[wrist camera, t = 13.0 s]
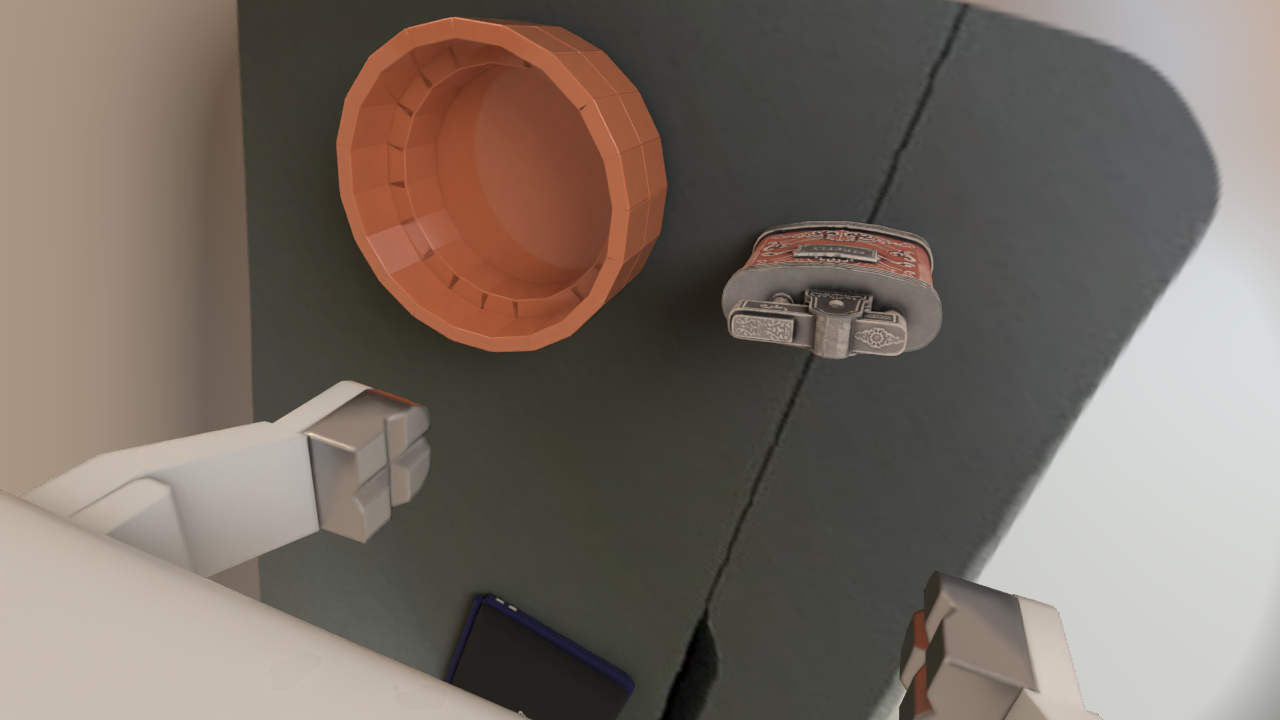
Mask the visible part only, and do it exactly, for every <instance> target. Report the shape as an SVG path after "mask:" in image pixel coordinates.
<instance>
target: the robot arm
mask: <svg viewBox="0 0 1280 720" xmlns="http://www.w3.org/2000/svg"><path fill="white" fill-rule="evenodd" d="M430 428H431V425H430V412H429V410H428V409H427V408H426V407H425V406H423V405H421V404H418V403H416V402H413V401H410V400H407V399H404V398H401V397H398V396H396V395H393V394H390V393H387V392H384V391H381V390H378V389H373V388H371V387H369V386H366V385H363V384H360V383H357V382H354V381H341V382H339V383H338V384H336V385H334V386H333V387H331V388H329V389H328V390H326V391H325V392H323V393H321V394H320V395H318V396H316V397H315V398H313V399H312V400H310V401H308V402H307V403H305V404H303V405H302V406H300V407H299V408H297V409H295V410H294V411H292V412H290V413H289V414H287V415H286V416H284V417H282V418H281V419H279V420H277V421H276V422H274V423H273V424H272V423H269V422H266V421H262V422H258V423H253V424H248V425H243V426H238V427H233V428H228V429H223V430H218V431H213V432H208V433H203V434H198V435H193V436H188V437H183V438H178V439H173V440H168V441H163V442H158V443H153V444H148V445H143V446H138V447H133V448H128V449H123V450H118V451H113V452H108V453H103V454H98V455H97V456H95V457H93V458H91V459H89V460H87V461H85V462H83V463H81V464H80V465H78V466H76V467H74V468H72V469H70V470H68V471H66V472H65V473H62V474H60V475H59V476H57V477H55V478H53V479H51V480H49V481H47V482H45V483H43V484H41V485H40V486H38V487H36V488H34V489H32V490H30V491H28V492H26V493H24V494H23V495H20V496H19V497H17V496H15V495H12V494H10V493H7V492H5V491H3V490H1V489H0V720H532V719H530V718H527V717H525V716H523V715H520V714H518V713H516V712H513V711H511V710H509V709H506V708H504V707H502V706H500V705H497V704H495V703H493V702H490V701H488V700H486V699H483V698H481V697H479V696H476V695H474V694H472V693H470V692H467V691H465V690H463V689H460V688H458V687H456V686H453V685H451V684H449V683H446V682H444V681H442V680H440V679H437V678H435V677H433V676H430V675H428V674H426V673H423V672H421V671H419V670H416V669H414V668H412V667H410V666H407V665H405V664H403V663H400V662H398V661H396V660H393V659H391V658H389V657H386V656H384V655H382V654H380V653H377V652H375V651H373V650H370V649H368V648H366V647H363V646H361V645H359V644H356V643H354V642H352V641H350V640H347V639H345V638H343V637H340V636H338V635H336V634H333V633H331V632H329V631H326V630H324V629H322V628H320V627H317V626H315V625H313V624H310V623H308V622H306V621H303V620H301V619H299V618H296V617H294V616H292V615H289V614H287V613H285V612H283V611H280V610H278V609H276V608H273V607H271V606H269V605H266V604H264V603H262V602H259V601H257V600H255V599H253V598H250V597H248V596H246V595H243V594H241V593H238V592H236V591H234V590H232V589H229V588H227V587H225V586H222V585H220V584H218V583H216V582H213V581H211V580H209V579H206V578H207V577H209V576H212V575H214V574H217V573H219V572H221V571H224V570H226V569H229V568H231V567H233V566H236V565H238V564H240V563H243V562H245V561H248V560H250V559H252V558H255V557H257V556H260V555H262V554H264V553H267V552H269V551H272V550H274V549H276V548H279V547H281V546H283V545H286V544H288V543H291V542H293V541H295V540H298V539H300V538H303V537H305V536H307V535H310V534H312V533H314V532H317V531H319V530H320V529H319V528H322V529H325V530H328V531H331V532H333V533H336V534H339V535H342V536H345V537H348V538H350V539H353V540H356V541H359V542H362V543H364V544H365V543H366V542H367V541H368V540H369V539H370V538H371V537H372V536H373V535H374V534H375V533H377V532H378V531H379V530H380V529H381V528H382V527H383V526H384V525H385V524H386V523H387V522H388V521H389V520H390V519H391V518H392V510H393V506H396V505H400V504H403V503H406V502H409V501H410V500H411V499H412V498H413V497H414V496H415V495H416V494H417V493H418V492H419V491H420V490H421V488H422V486H423V485H424V483H425V481H426V479H427V477H428V475H429V471H430V467H431V462H432V454H431V448H430V446H429V445H428V443H427V441H426V440H425V438H424V435H425V433H426V432H427V431H428V430H429V429H430ZM900 681H901V683H902V684H903V686H904V687H905V689H906V690H907V692H906V694H905V696H904V698H903V701H902V703H901V705H900V707H899V720H1103V719H1102V718H1101V717H1100V716H1099V715H1098V714H1096V713H1093V712H1091V711H1088V710H1085V706H1084V702H1083V699H1082V695H1081V691H1080V688H1079V684H1078V681H1077V677H1076V673H1075V669H1074V666H1073V662H1072V658H1071V654H1070V651H1069V647H1068V644H1067V640H1066V636H1065V633H1064V629H1063V625H1062V622H1061V618H1060V614H1059V612H1058V611H1057V609H1056V608H1055V607H1054V606H1051V605H1048V604H1045V603H1041V602H1038V601H1035V600H1031V599H1028V598H1025V597H1021V596H1018V595H1015V594H1013V595H1011V594H1008V593H1005V592H1001V591H998V590H995V589H992V588H989V587H986V586H983V585H979V584H976V583H973V582H970V581H967V580H964V579H961V578H957V577H954V576H951V575H948V574H945V573H942V572H939V571H935V572H934V573H933V574H932V576H931V577H930V579H929V581H928V583H927V585H926V587H925V589H924V609H922V610H920V611H918V612H916V613H914V614H913V616H912V619H911V621H910V624H909V626H908V629H907V631H906V635H905V639H904V643H903V647H902V652H901V660H900Z"/></svg>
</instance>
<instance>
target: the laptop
mask: <svg viewBox="0 0 1280 720" xmlns="http://www.w3.org/2000/svg"><path fill="white" fill-rule="evenodd" d="M444 682H446V683H449V684H451V685H453V686H456V687H458V688H460V689H463V690H465V691H467V692H470V693H472V694H474V695H476V696H479V697H481V698H483V699H486V700H488V701H490V702H493V703H495V704H497V705H500V706H502V707H504V708H506V709H509V710H511V711H513V712H516V713H518V714H520V715H523V716H525V717H527V718H530V719H532V720H616V718H617V716H618V715H619V713H620V712H621V710H622V708H623V707H624V705H625V704H626V702H627V700H628V699H629V697H630V696H631V694H632V692H633V690H634V687H635V684H634V682H633V680H632V679H631V678H630V677H629V676H628V675H627V674H626V673H624V672H623V671H621V670H619V669H618V668H616V667H614V666H613V665H611V664H609V663H607V662H606V661H604V660H602V659H601V658H599V657H597V656H596V655H594V654H592V653H591V652H589V651H587V650H585V649H584V648H582V647H580V646H579V645H577V644H575V643H574V642H572V641H570V640H569V639H567V638H565V637H563V636H562V635H560V634H558V633H557V632H555V631H553V630H552V629H550V628H548V627H547V626H545V625H543V624H541V623H540V622H538V621H536V620H535V619H533V618H531V617H529V616H528V615H526V614H524V613H523V612H521V611H519V610H518V609H516V608H515V607H513V606H511V605H509V604H508V603H506V602H504V601H503V600H501V599H499V598H497V597H496V596H494V595H492V594H489V595H488V596H487V598H486V599H485V600H484V598H483V597H482V596H481V595H477V596H475V597H474V599H473V602H472V605H471V608H470V611H469V614H468V617H467V619H466V622H465V625H464V628H463V630H462V633H461V636H460V639H459V641H458V644H457V647H456V650H455V652H454V655H453V658H452V661H451V663H450V666H449V669H448V672H447V674H446V677H445V680H444Z"/></svg>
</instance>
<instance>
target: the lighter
mask: <svg viewBox="0 0 1280 720" xmlns="http://www.w3.org/2000/svg"><path fill="white" fill-rule="evenodd" d="M932 271H933V256H932V252H931V249H930V246H929V244H928V243H927V242H926V241H925V240H924V239H923V238H922V237H920V236H918V235H916V234H912V233H908V232H904V231H900V230H896V229H892V228H888V227H884V226H879V225H871V224H863V223H855V222H847V221H808V222H801V223H793V224H785V225H777V226H773V227H770V228H768V229H767V230H765V231H764V232H763V233H762V234H761V235H760V237H759V238H758V240H757V241H756V243H755V245H754V247H753V252H752V255H751V257H750V258H749V260H748V261H747V263H746V264H745V266H744V267H743V268H741V269H740V270H738V271H737V272H736V273H735V274H733V275H732V277H731V278H730V280H729V281H728V283H727V285H726V287H725V288H724V290H723V295H722V300H721V301H722V309H723V313H724V315H725V317H726V320H727V322H728V331H729V332H730V334H731V335H732V336H733V337H735V338H739V339H746V340H755V341H764V342H773V343H778V344H782V345H787V346H793V347H798V348H804V349H807V350H809V351H811V352H812V353H813V354H815V355H816V356H819V357H823V358H831V359H843V358H847V357H848V356H853V355H856V354H879V355H888V356H895V355H898V354H901V353H902V352H910V351H914V350H918V349H921V348H923V347H924V346H926V345H927V344H929V343H930V342H931V341H932V340H933V339H934V337H935V336H936V335H937V334H938V331H939V329H940V326H941V323H942V307H941V302H940V299H939V297H938V294H937V292H936V291H935V290H934V289H933V284H932V277H931V274H932Z"/></svg>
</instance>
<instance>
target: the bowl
mask: <svg viewBox="0 0 1280 720" xmlns="http://www.w3.org/2000/svg"><path fill="white" fill-rule="evenodd" d="M336 144H337V146H336V148H337V161H338V175H339V189H340V193H341V194H340V196H341V200H342V203H343V206H344V209H345V212H346V215H347V218H348V221H349V224H350V227H351V230H352V233H353V236H354V239H355V240H356V243H357V245H358V247H359V248H360V250H361V252H362V253H363V255H364V257H365V258H366V260H367V262H368V263H369V265H370V267H371V268H372V270H373V272H374V273H375V275H376V277H377V278H378V280H379V282H381V284H382V285H383V286H384V287H385V288H386V289H387V290H388V291H389V292H390V293H391V294H392V295H393V296H394V297H395V298H396V299H397V300H398V301H399V302H400V303H401V304H402V305H403V306H404V308H405V309H406V310H407V311H408V312H409V313H410V314H411V315H414V317H415V318H416V319H418V320H420V321H421V322H423V323H425V324H426V325H428V326H429V327H431V328H433V329H434V330H436V331H437V332H439V333H441V334H442V335H444V336H445V337H447V338H449V339H451V340H452V341H456V342H459V343H462V344H466V345H469V346H473V347H476V348H480V349H483V350H486V351H490V352H511V351H535V350H537V349H540V348H542V347H545V346H547V345H550V344H552V343H555V342H557V341H560V340H562V339H564V338H567V337H569V336H571V335H572V334H574V333H575V332H576V331H577V330H578V329H579V328H580V327H581V326H582V325H584V324H585V323H586V322H587V321H588V320H589V319H590V318H591V317H592V316H593V315H595V314H596V313H597V312H598V311H599V310H600V309H601V308H602V307H603V306H604V305H605V304H607V303H608V302H609V301H610V300H611V299H612V298H613V297H614V296H615V295H616V294H617V293H618V292H620V291H621V290H622V289H623V288H624V287H625V286H626V285H627V284H628V283H629V282H630V281H631V280H632V279H633V278H634V277H635V276H636V275H638V274H639V273H640V271H641V270H642V268H643V266H644V264H645V263H646V261H647V259H648V257H649V255H650V253H651V251H652V249H653V247H654V245H655V243H656V241H657V239H658V237H659V235H660V232H661V226H662V220H663V213H664V206H665V200H666V193H667V179H666V173H665V166H664V159H663V152H662V145H661V139H660V136H659V134H658V131H657V129H656V127H655V125H654V123H653V121H652V119H651V116H650V114H649V112H648V110H647V108H646V106H645V103H644V101H643V99H642V97H641V95H640V93H639V91H637V88H636V87H635V86H634V85H633V84H632V83H631V81H630V80H629V79H628V78H627V77H626V76H625V75H624V74H623V73H622V71H621V70H620V69H619V68H618V67H617V66H616V65H615V64H614V62H613V61H612V60H611V59H610V58H609V57H608V56H607V55H606V54H605V53H604V52H603V51H602V50H600V49H599V48H597V47H595V46H593V45H592V44H590V43H588V42H586V41H585V40H583V39H581V38H580V37H578V36H576V35H574V34H573V33H571V32H569V31H567V30H566V29H564V28H561V27H557V26H551V25H545V24H539V23H533V22H527V21H521V20H509V19H490V18H489V19H488V18H470V17H448V18H444V19H440V20H436V21H432V22H428V23H424V24H420V25H416V26H412V27H408V28H405V29H404V30H402V31H401V32H400V33H399V34H397V35H396V36H395V37H393V38H392V39H391V40H390V41H388V42H387V43H386V44H384V45H383V46H382V47H381V48H379V49H378V50H377V51H375V52H374V53H373V54H372V55H370V57H369V58H368V60H367V61H366V63H365V65H364V67H363V68H362V70H361V72H360V73H359V75H358V77H357V79H356V80H355V82H354V84H353V86H352V87H351V89H350V91H349V92H348V94H347V96H346V98H345V102H344V107H343V112H342V117H341V122H340V127H339V132H338V137H337V142H336Z"/></svg>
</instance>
